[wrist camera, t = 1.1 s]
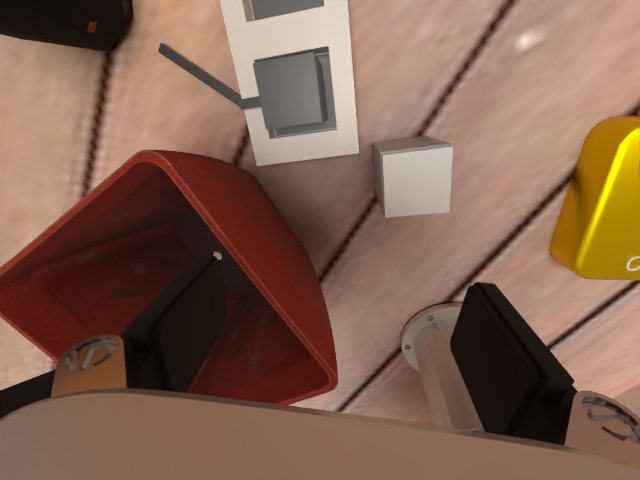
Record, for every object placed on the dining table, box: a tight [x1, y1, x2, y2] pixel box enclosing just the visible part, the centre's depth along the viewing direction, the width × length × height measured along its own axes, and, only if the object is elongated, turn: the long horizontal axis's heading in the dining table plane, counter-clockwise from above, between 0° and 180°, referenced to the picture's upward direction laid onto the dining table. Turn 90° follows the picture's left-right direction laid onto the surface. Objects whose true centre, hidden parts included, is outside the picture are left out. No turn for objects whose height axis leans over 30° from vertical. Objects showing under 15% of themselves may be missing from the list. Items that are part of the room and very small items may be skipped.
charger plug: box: [373, 136, 453, 218], centre depth 25 cm, size 5×5×9 cm
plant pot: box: [0, 150, 338, 405], centre depth 27 cm, size 19×19×17 cm
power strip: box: [158, 0, 359, 166], centre depth 23 cm, size 18×20×7 cm
